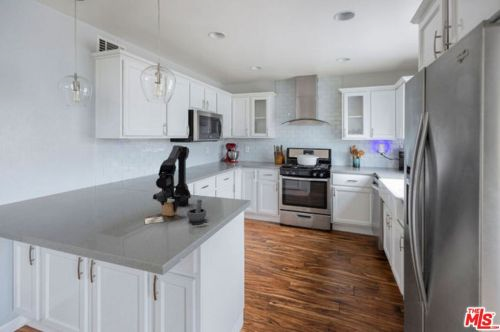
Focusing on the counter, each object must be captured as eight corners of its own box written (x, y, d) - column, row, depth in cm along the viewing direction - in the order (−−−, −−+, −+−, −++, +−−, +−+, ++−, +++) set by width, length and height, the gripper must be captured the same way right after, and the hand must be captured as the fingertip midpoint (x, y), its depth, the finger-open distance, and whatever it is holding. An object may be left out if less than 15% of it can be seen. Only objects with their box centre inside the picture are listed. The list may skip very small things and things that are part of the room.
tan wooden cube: (177, 212, 147) (177, 201, 146) (171, 215, 141) (170, 204, 140) (169, 211, 149) (168, 200, 148) (162, 214, 143) (161, 203, 142)
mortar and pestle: (202, 227, 130) (201, 204, 129) (184, 226, 132) (184, 203, 130) (209, 220, 141) (208, 198, 140) (193, 219, 143) (192, 198, 141)
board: (176, 215, 150) (176, 204, 150) (180, 222, 138) (180, 210, 137) (143, 219, 143) (142, 208, 142) (144, 227, 130) (143, 215, 130)
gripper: (145, 186, 139) (146, 214, 140) (173, 188, 132) (175, 218, 134) (159, 182, 149) (160, 209, 151) (186, 184, 143) (187, 212, 144)
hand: (170, 212), depth 145 cm, fingers closed on tan wooden cube, 6 cm apart
